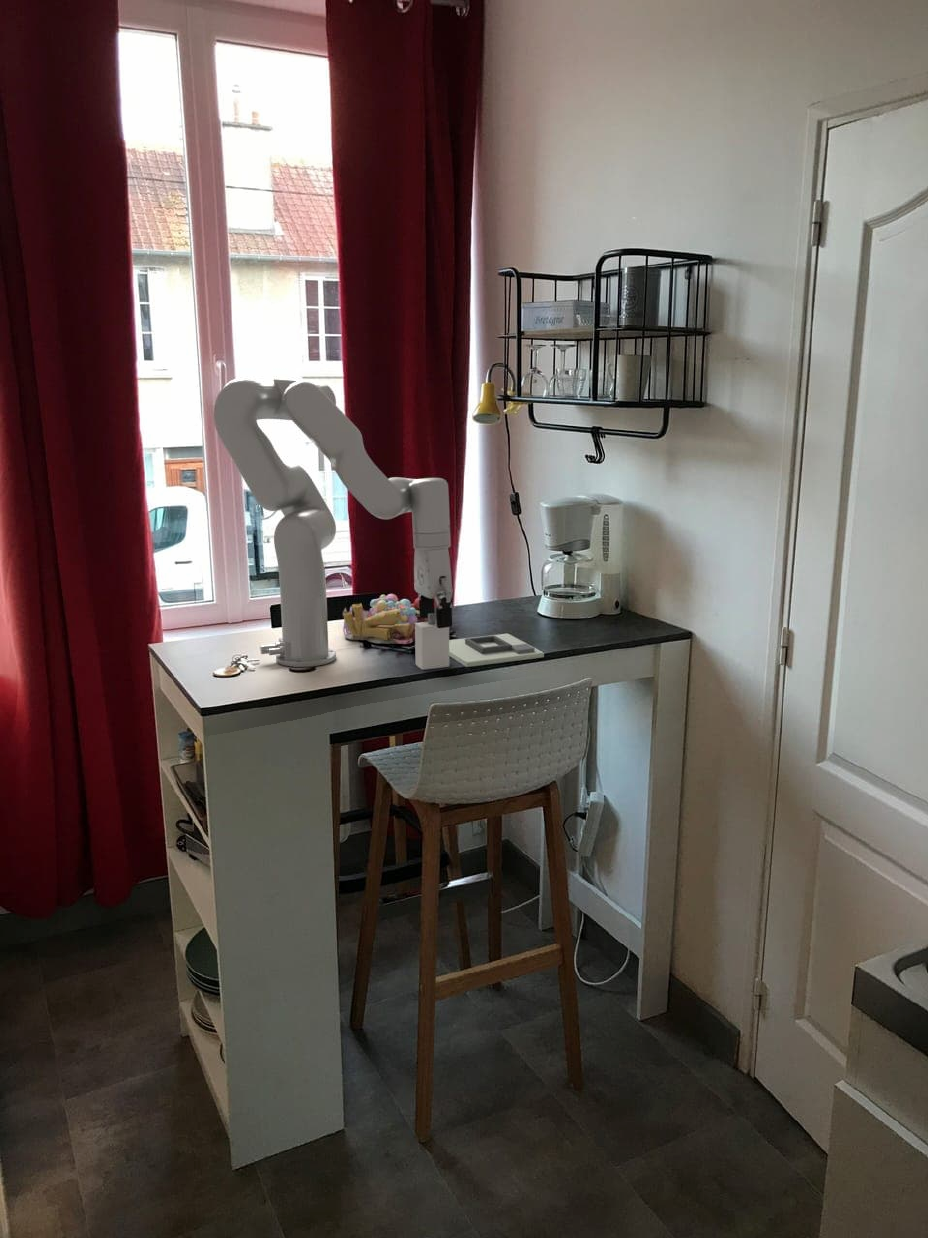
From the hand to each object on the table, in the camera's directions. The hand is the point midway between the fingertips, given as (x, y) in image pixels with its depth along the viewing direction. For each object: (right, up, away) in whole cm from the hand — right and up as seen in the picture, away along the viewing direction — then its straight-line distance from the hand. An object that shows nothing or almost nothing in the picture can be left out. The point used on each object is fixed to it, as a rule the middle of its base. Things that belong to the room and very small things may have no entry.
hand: (435, 622), depth 200 cm
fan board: (+11, -6, +13) cm, 18 cm away
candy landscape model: (-10, -3, +30) cm, 32 cm away
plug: (-1, -9, +2) cm, 9 cm away
